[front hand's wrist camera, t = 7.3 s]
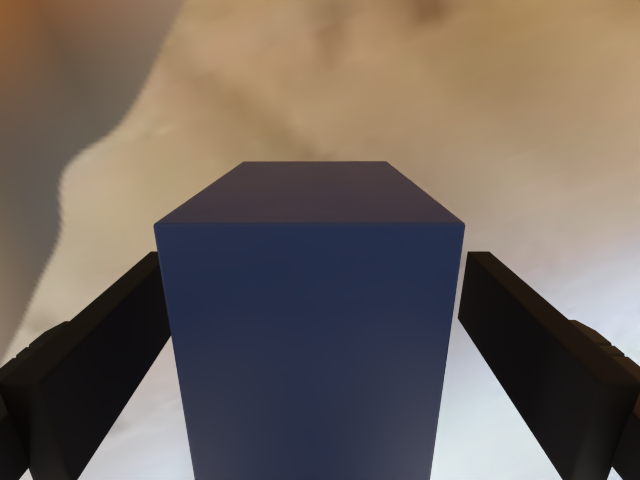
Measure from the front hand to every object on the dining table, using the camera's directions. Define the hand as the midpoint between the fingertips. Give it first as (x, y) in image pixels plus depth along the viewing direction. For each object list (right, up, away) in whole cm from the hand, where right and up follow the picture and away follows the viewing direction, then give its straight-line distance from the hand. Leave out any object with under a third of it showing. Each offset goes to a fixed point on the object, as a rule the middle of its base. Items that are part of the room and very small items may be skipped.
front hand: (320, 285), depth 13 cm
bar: (0, -7, +4) cm, 8 cm away
